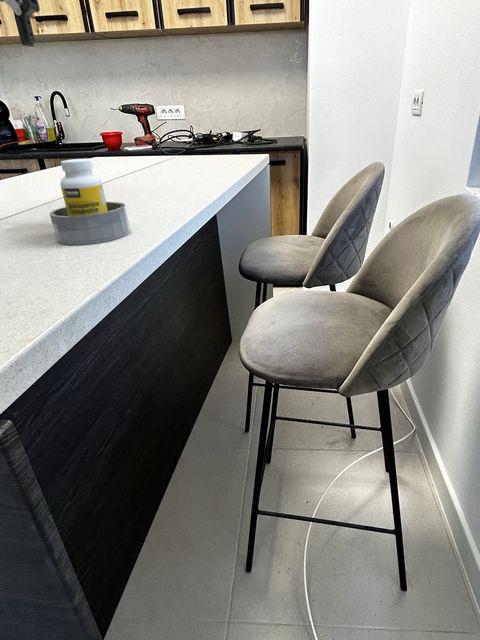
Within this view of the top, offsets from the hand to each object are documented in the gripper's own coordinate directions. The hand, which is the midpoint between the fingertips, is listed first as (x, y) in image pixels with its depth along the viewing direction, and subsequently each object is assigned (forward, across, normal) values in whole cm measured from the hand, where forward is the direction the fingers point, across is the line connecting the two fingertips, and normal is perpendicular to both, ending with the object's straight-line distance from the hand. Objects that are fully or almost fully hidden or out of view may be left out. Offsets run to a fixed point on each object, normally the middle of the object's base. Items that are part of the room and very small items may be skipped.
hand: (5, 47), depth 72 cm
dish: (+29, +14, -9) cm, 33 cm away
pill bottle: (+28, +14, -9) cm, 33 cm away
